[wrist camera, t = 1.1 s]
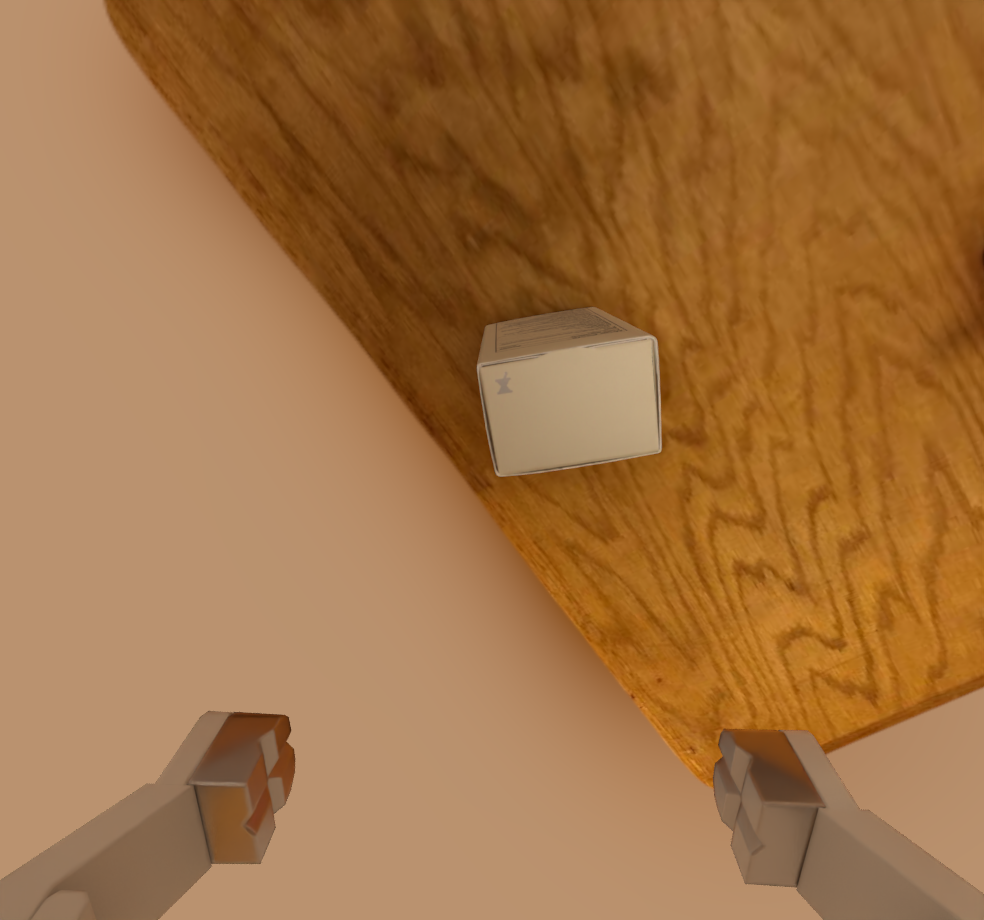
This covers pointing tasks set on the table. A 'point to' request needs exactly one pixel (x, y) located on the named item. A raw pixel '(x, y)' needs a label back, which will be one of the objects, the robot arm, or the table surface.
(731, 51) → the table surface
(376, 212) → the table surface
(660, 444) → the cosmetic box
